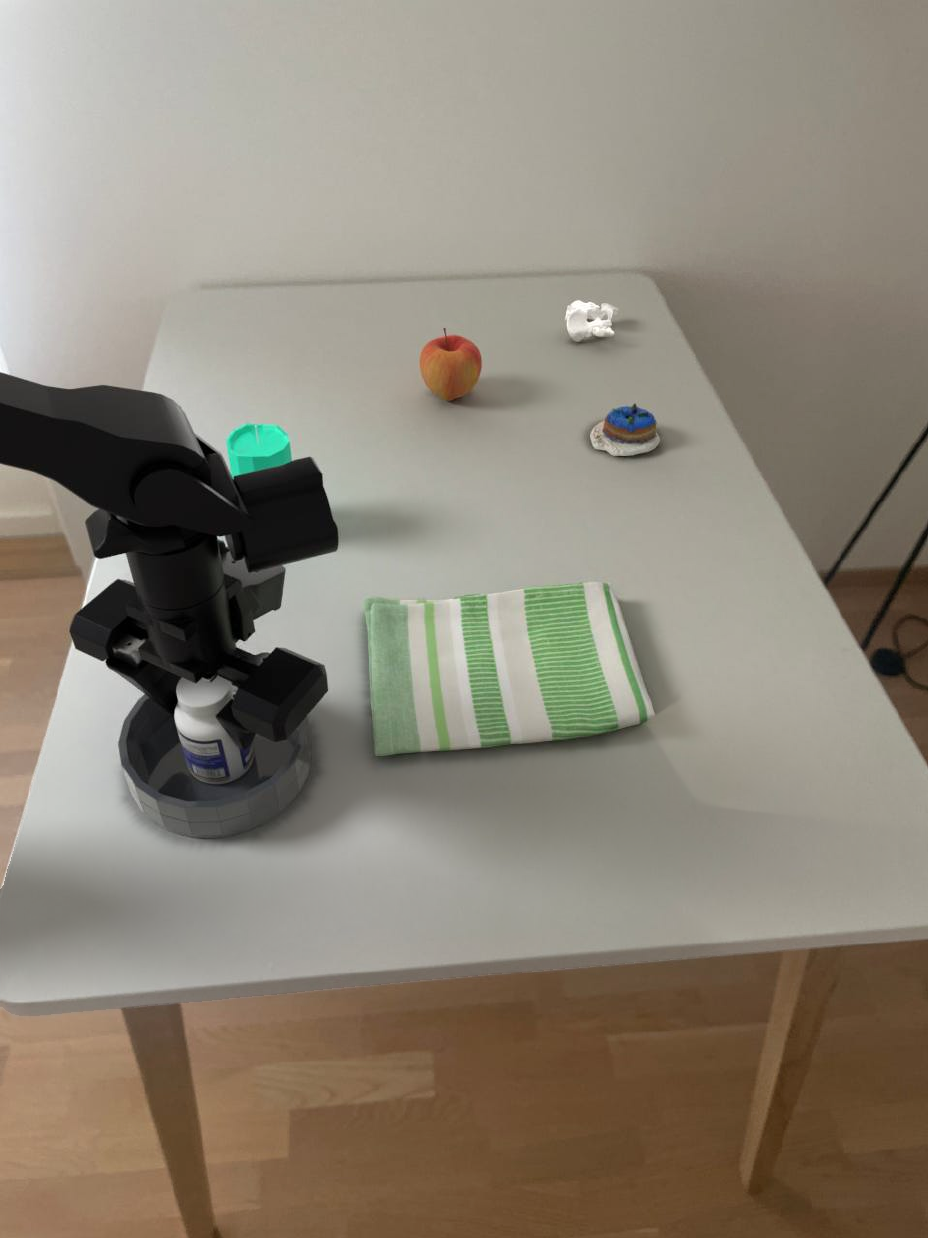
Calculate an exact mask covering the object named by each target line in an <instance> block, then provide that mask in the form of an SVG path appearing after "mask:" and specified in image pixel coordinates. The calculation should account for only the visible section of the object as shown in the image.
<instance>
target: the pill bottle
mask: <svg viewBox="0 0 928 1238" xmlns="http://www.w3.org/2000/svg"><path fill="white" fill-rule="evenodd" d="M176 693H177V698H178V703H177V705H176V708H175V713H174V718H175V723H176V727H177V731H178V734H179V738H180V741H181V745H182V748H183V752H184V755H185V759H186V762H187V765H188V768H189V770H190V772H191V774H192V775H193V776H194V777H195V778H196V779H198V780H200V781H202V782H204V783H208V784H225V783H228V782H231V781H234V780H236V779H238V778H240V777H241V776H242V775H244V774H245V773H246V772H247V771H248V769H249V768H250V766H251V765H252V762H253V760H254V746H253V742H252V743H251V745H250V746H249V747H248V748H247V749H246V750H245V751H244V750H241V749H240V748H239V747H238V746H237V745H236V744H235V743H234V741H233V740H232V739H231V737H230V736H229V735H228V733H227V732H226V731H225V729H224V728H223V727H222V726H221V724H220V723H219V722H218V720H217V719H216V717H215V716H216V715H217V714H218V713H219V712H220V711H221V709H222V708H223V707H224V706H225V705H226V704H227V703H228V702H229V701H230V700H231V699H232V696H233V695H234V694H236V693H235V692H233V688H232V684H231V682H230V681H228V680H226V679H224V678H221V677H219V676H217V677H216V678H215V679H214V680H213V681H212V682H210V683H208V682H205V681H203V680H201V679H200V680H199V681H198V682H197V683H193V682H191V681H189V680H187V679H185V678H181V679H180V681H179V682H178V684H177V688H176Z"/></svg>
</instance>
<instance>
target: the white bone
mask: <svg viewBox="0 0 928 1238" xmlns="http://www.w3.org/2000/svg"><path fill="white" fill-rule="evenodd" d="M619 309H620V308H618V307H616V306H614V305H612V304H611V303H606V302H603V303H601V304H600V306H599V305H597V304H595V303H594V302H591V301H589V302H583V301H582V300H575V301H574V302H572V303H570V305H569V304H568V305H567V308H566V314H565V318H564V322H566V328H567V332H568V334H569V336H570V338H572V340H573V341H575V342H576V343H580V342H582V340H583V339H585V338H587V339H589V338H590V337H592V336H596V337H598V338H604V337H607V338H608V337H609V338H614V336H615V331H614V330H612V325H613V323H612V318H613V315H614V316H618V313H619ZM604 316H607V319H603V318H604ZM588 319H589V320H590V322H589V321H588ZM602 319H603V320H602ZM591 320H592V321H591Z"/></svg>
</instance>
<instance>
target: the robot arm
mask: <svg viewBox="0 0 928 1238" xmlns="http://www.w3.org/2000/svg"><path fill="white" fill-rule="evenodd" d="M192 427H193V426H192V425H191V423H190V420H189V419H188V417H187V414H186V412H185V411H184V410H183V408H182V406H181V405H179V404H178V403H177V402H176V401H175V400H174V399H172V398H170V397H168V396H166V395H165V394H161V393H157V392H153V391H149V390H148V391H147V390H140V389H134V388H127V387H121V386H115V385H107V384H99V385H91V386H84V387H75V388H64V387H58V386H50V385H46V384H45V385H44V384H42V383H38V382H35V381H32V380H28V379H24V378H22V377H19V376H15V375H11V374H8V373H5V372H1V371H0V465H3V466H6V467H7V466H8V467H11V468H15V469H20V470H23V471H28V472H30V473H35V474H37V475H40V476H42V477H44V478H47V479H49V480H51V481H54V482H56V483H57V484H59V485H60V486H62V487H63V488H65V489H66V490H68V492H70V493H72V494H73V495H75V496H76V497H78V498H79V499H81V500H83V501H84V502H85V503H87V504H88V505H89V506H92V507H93V508H96V510H94V511H93V512H92V513H91V514H90V515H89V516H88V517H87V518H86V519H85V521H84V524H85V528H86V532H87V535H88V539H89V543H90V547H91V550H92V554H93V557H94V558H96V559H98V560H103V559H108V558H111V557H115V556H119V555H123V554H124V555H125V557H126V560H127V564H128V567H129V570H130V574H131V576H132V581H133V582H132V581H130V580H127V579H121V578H117V579H115V580H114V581H112V582H111V583H110V584H109V585H107V587H105V588H104V589H103V590H101V592H100V593H99V594H97V595H96V596H95V597H93V598H92V599H91V600H90V601H89V602H88V603H86V604H85V605H84V606H83V607H81V609H79V610H78V611H77V612H76V613H74V614H73V615H72V619H71V621H70V624H69V630H68V631H69V634H70V637H71V640H72V643H73V646H74V649H75V650H77V651H79V652H81V653H84V654H85V655H88V656H90V657H92V658H94V659H96V660H98V661H100V662H105V665H106V667H107V669H108V670H110V671H113V672H114V673H116V674H117V675H119V677H121V678H123V679H124V680H125V681H127V682H128V683H129V684H130V685H132V686H134V687H135V688H136V689H138V690H139V691H141V693H143V695H144V694H146V695H147V696H148V697H150V698H151V699H152V700H153V701H155V702H156V703H157V704H158V705H160V706H161V707H162V708H163V709H165V710H166V711H167V712H169V713H170V714H171V715H172V716H174V713H175V708H176V705H177V703H178V698H177V693H176V688H177V684H178V682H179V681H180V679H181V678H185V679H187V680H189V681H191V682H193V683H197V682H198V681H199V680H200V679H201V680H203V681H205V682H208V683H210V682H212V681H213V680H214V679H215V678H216V677H217V676H219V677H221V678H224V679H226V680H228V681H230V682H232V683H234V684H233V685H232V687H233V692H235V693H236V694H234V695H233V696H232V699H231V700H230V701H229V702H228V703H227V704H226V705H225V706H224V707H223V708H222V709H221V711H220V712H219V713H218V714H217V715H216V716H215V717H216V719H217V720H218V722H219V723H220V724H221V726H222V727H223V728H224V729H225V731H226V732H227V733H228V735H229V736H230V737H231V739H232V740H233V741H234V743H235V744H236V745H237V746H238V747H239V748H240V749H241V750H244V751H245V750H246V749H247V748H248V747H249V746H250V745H251V743H252V742H253V740H254V737H255V735H256V734H258V735H260V736H263V737H265V738H267V739H269V740H271V741H273V742H279V741H284V740H287V739H288V738H289V737H290V735H291V734H292V733H293V732H294V731H295V730H296V728H297V727H298V726H299V725H300V724H301V722H302V721H303V720H304V719H305V718H306V716H309V714H310V713H311V712H312V711H313V710H314V709H315V707H316V706H317V705H318V704H319V702H320V701H321V700H322V699H323V698H324V696H325V695H326V694H328V692H329V682H328V674H327V671H326V666H325V664H323V663H320V662H318V661H316V660H314V659H311V658H309V657H307V656H304V655H303V654H300V653H298V652H295V651H293V650H291V649H288V648H285V647H275V648H274V649H273V650H272V651H271V652H266V651H264V652H259V653H257V654H254V653H251V652H249V651H246V650H244V649H242V648H240V647H237V643H238V642H239V641H242V642H247V641H248V639H250V638H251V636H253V634H255V632H256V627H255V621H256V620H257V619H259V618H261V617H263V616H265V615H267V614H268V613H270V612H272V611H275V612H276V611H278V610H280V609H281V607H282V604H283V603H282V602H283V593H284V586H285V579H286V571H287V569H286V567H285V566H284V565H289V564H293V563H297V562H301V561H304V560H308V559H312V558H316V557H320V556H324V555H327V554H331V553H335V552H337V551H338V549H339V545H340V544H339V543H340V542H339V541H340V540H339V536H340V535H339V529H338V525H337V523H336V522H335V520H334V517H333V513H332V509H331V505H330V501H329V498H328V495H327V492H326V489H325V487H324V478H323V473H322V471H321V469H320V467H319V466H318V464H317V462H316V461H315V459H314V457H312V456H307V457H301V458H297V459H293V460H292V461H291V462H288V463H286V464H284V465H281V466H277V467H272V468H268V469H263V470H259V471H254V472H250V473H245V474H241V475H236V476H233V477H232V474H231V470H230V469H229V466H228V464H227V462H226V460H225V457H224V456H223V454H222V452H221V451H219V450H218V449H216V448H215V447H214V446H212V445H211V444H209V442H207V441H206V440H205V439H203V438H202V437H201V436H199V435H198V434H197V433H195V431H194V430H193V429H194V428H192ZM233 478H234V479H233ZM218 537H224V539H225V541H224V540H221V539H219V538H218ZM226 545H227V546H226Z"/></svg>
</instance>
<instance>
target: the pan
mask: <svg viewBox="0 0 928 1238" xmlns="http://www.w3.org/2000/svg"><path fill="white" fill-rule="evenodd" d="M231 684H232V685H233V684H234V683H232V682H231ZM232 688H233V687H232ZM308 716H309V715H307V716H306V718H305V719H304V720H303V721H302V722H301V724H300V725H299V726H298V727H297V728H296V730H295V731H294V732H293V733H292V734H291V735H290V737H289V738H288V739H287V740H284V741H279V742H273V741H271V740H269V739H267V738H265V737H263V736H260V735H258V734H256V735H255V737H254V740H253V746H254V760H253V762H252V765H251V766H250V768H249V769H248V771H247V772H246V773H245V774H244V775H242V776H241V777H240V778H238V779H236V780H234V781H231V782H228V783H225V784H208V783H204V782H202V781H200V780H198V779H196V778H195V777H194V776H193V775H192V774H191V772H190V770H189V768H188V765H187V762H186V759H185V755H184V752H183V748H182V745H181V741H180V738H179V734H178V731H177V727H176V723H175V718H174V716H172V715H171V714H170V713H169V712H167V711H166V710H165V709H163V708H162V707H161V706H160V705H158V704H157V703H156V702H155V701H153V700H152V699H151V698H150V697H148V696H147V695H146V694H144V693H143V695H142V696H141V697H139V698H138V699H137V701H136V702H135V703H134V705H133V706H132V708H131V709H130V711H129V712H128V714H127V715H126V716H125V718H124V720H123V722H122V728H121V731H120V734H119V738H118V743H117V747H118V753H119V761H120V765H121V769H122V771H123V774H124V778H125V781H126V783H127V786H128V788H129V792H130V794H131V796H132V798H133V799H134V801H135V803H136V805H137V807H138V808H139V809H140V811H141V812H142V813H143V814H144V815H145V817H147V818H148V819H149V820H150V821H151V822H153V823H154V824H156V825H157V826H159V827H161V828H163V829H164V830H166V831H168V832H171V833H174V834H177V835H179V836H185V837H189V838H197V839H216V838H217V839H218V838H226V837H230V836H231V837H232V836H234V835H239V834H242V833H245V832H249V831H252V830H253V829H256V828H258V827H260V826H262V825H264V824H266V823H268V822H269V821H271V820H272V819H274V818H275V817H277V816H278V815H279V814H280V813H282V812H283V811H284V810H285V809H287V807H288V806H289V805H290V804H291V803H292V802H293V801H294V799H295V798H297V796H298V795H299V793H300V792H301V790H302V788H303V787H304V786H305V783H306V781H307V778H308V776H309V772H310V769H311V763H312V749H313V748H312V740H311V732H310V731H311V730H310V724H309V723H310V722H309V717H308Z"/></svg>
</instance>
